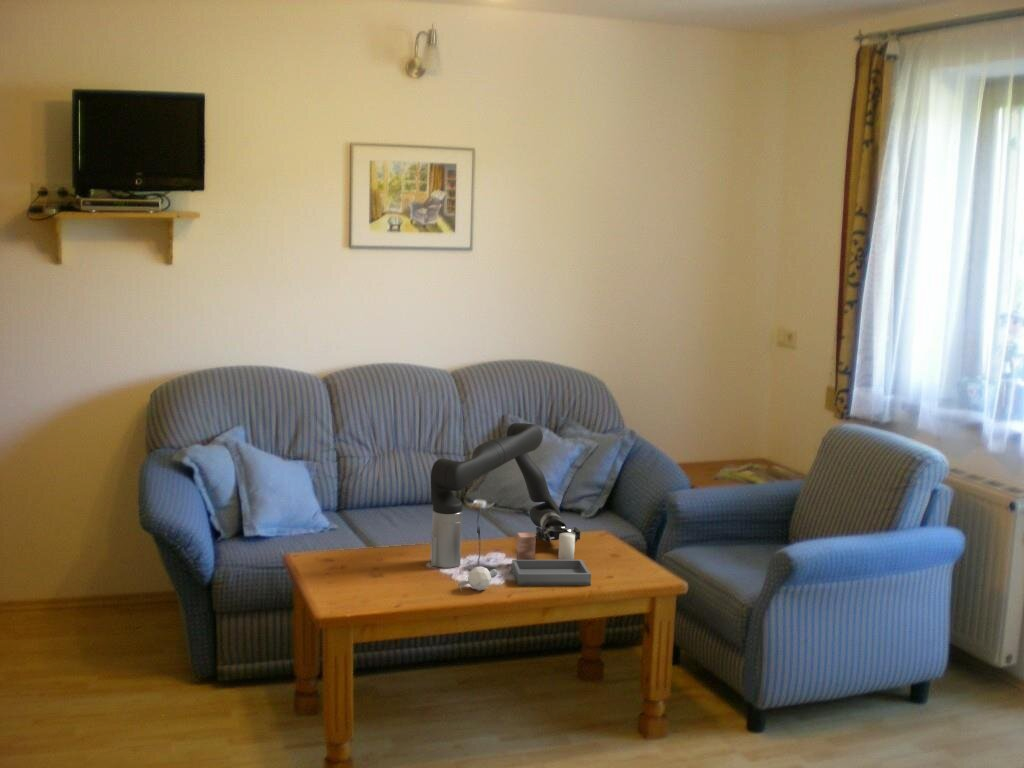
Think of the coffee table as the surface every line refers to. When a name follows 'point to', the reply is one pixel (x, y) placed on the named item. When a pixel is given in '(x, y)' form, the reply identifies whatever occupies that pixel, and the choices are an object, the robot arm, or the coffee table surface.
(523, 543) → the coral block
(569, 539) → the cream cylinder
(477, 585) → the alien figurine
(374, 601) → the coffee table surface
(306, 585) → the coffee table surface
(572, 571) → the tray
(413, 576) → the coffee table surface
